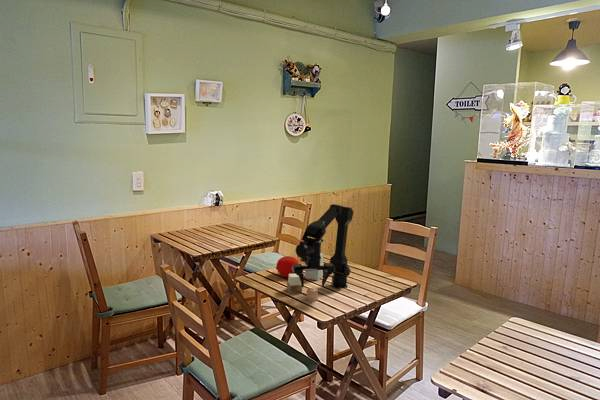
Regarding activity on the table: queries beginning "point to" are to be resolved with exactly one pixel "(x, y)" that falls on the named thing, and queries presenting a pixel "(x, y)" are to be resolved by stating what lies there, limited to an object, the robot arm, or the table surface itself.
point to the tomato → (286, 265)
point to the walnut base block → (294, 289)
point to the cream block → (294, 280)
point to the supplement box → (315, 271)
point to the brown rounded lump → (312, 295)
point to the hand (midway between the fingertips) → (312, 286)
